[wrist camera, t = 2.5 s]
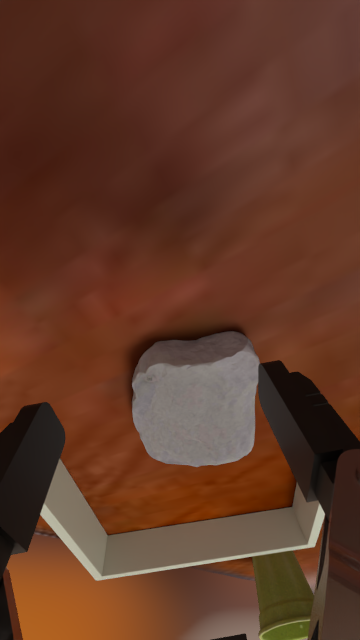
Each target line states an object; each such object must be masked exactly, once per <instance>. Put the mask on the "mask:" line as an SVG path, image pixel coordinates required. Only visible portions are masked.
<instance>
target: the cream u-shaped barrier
mask: <svg viewBox="0 0 360 640" xmlns="http://www.w3.org/2000/svg"><path fill="white" fill-rule="evenodd" d="M40 515H41V516H42V517H43V518H44V519H45V521H46V522H47V523H48V524H49V525H50V526H51V528H52V529H53V530H54V531H55V532H56V534H57V535H58V536H59V537H60V538H61V540H62V541H63V542H64V543H65V544H66V545H67V547H68V548H69V549H70V550H71V551H72V553H73V554H74V555H75V556H76V557H77V559H78V560H79V561H80V562H81V563H82V564H83V566H84V567H85V568H86V569H87V570H88V571H89V573H90V574H91V575H92V576H93V578H94V579H95V580H96V581H97V580H104V579H110V578H117V577H123V576H130V575H136V574H142V573H149V572H155V571H162V570H168V569H175V568H181V567H188V566H194V565H201V564H207V563H214V562H220V561H226V560H233V559H239V558H246V557H252V556H259V555H265V554H272V553H278V552H284V551H291V550H297V549H304V548H310V547H315V545H316V541H317V538H318V535H319V532H320V529H321V526H322V523H323V520H324V516H325V513H324V511H323V509H322V507H321V505H320V503H319V501H313V502H306V500H305V498H304V496H303V494H302V492H301V489H300V487H299V485H298V483H297V484H296V489H295V495H294V500H293V506H292V507H289V508H282V509H276V510H270V511H263V512H257V513H250V514H244V515H237V516H231V517H224V518H218V519H211V520H205V521H198V522H192V523H185V524H179V525H173V526H166V527H160V528H153V529H147V530H140V531H134V532H127V533H121V534H114V535H107V534H106V532H105V530H104V529H103V527H102V526H101V524H100V522H99V521H98V519H97V517H96V516H95V514H94V513H93V511H92V509H91V508H90V506H89V505H88V503H87V501H86V500H85V498H84V497H83V495H82V493H81V492H80V490H79V488H78V487H77V485H76V484H75V482H74V480H73V479H72V477H71V476H70V474H69V472H68V471H67V469H66V467H65V466H64V464H63V463H62V461H61V459H59V462H58V465H57V467H56V470H55V473H54V476H53V479H52V482H51V485H50V488H49V490H48V493H47V496H46V499H45V502H44V505H43V508H42V511H41V513H40Z"/></svg>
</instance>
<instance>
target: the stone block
mask: <svg viewBox="0 0 360 640" xmlns="http://www.w3.org/2000/svg"><path fill="white" fill-rule="evenodd" d="M259 364H260V362H259V358H258V356H257V355H256V353H255V351H254V348H253V345H252V343H251V341H250V340H249V339H248V338H247V337H246V336H244V335H243V334H242V333H238V332H234V331H229V332H222V333H219V334H218V333H216V334H213V335H211V336H206V337H202V338H199V339H198V340H193V341H181V340H169V341H159V342H156V343H155V344H154V345H153V346H152V347H150V348H149V349H148V350H147V351H146V352H145V353H144V354H143V355H142V356H141V358H140V359H139V362H138V365H137V366H136V368H135V372H134V375H133V379H132V388H133V390H134V395H133V398H132V413H133V422H134V424H135V427H136V429H137V430H138V432H139V433H140V439H141V440H142V442H143V444H144V446H145V448H146V450H147V453H148V454H149V455H150V456H151V457H152V458H154V459H157V460H158V461H161V462H164V463H166V464H180V465H190V466H195V467H198V466H201V465H219V464H224V463H229V462H233V461H237V460H239V459H240V458H242V457H243V456H244V455H248V453H249V452H251V450H252V447H253V445H254V432H255V394H256V385H257V384H258V366H259Z"/></svg>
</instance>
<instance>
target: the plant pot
mask: <svg viewBox="0 0 360 640" xmlns="http://www.w3.org/2000/svg"><path fill="white" fill-rule="evenodd" d="M252 560H253V567H254V574H255V581H256V587H257V595H258V602H259V610H260V615H259V621H260V631H259V639H260V640H300V639H305V638H308V632H309V625H310V618H311V611H312V605H313V600H314V595H313V593H312V590H311V588H310V586H309V584H308V582H307V580H306V578H305V576H304V574H303V571H302V569H301V567H300V565H299V563H298V561H297V559H296V557H295V554H294V552H293V550H291V551H284V552H278V553H272V554H265V555H259V556H252Z"/></svg>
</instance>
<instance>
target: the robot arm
mask: <svg viewBox="0 0 360 640" xmlns="http://www.w3.org/2000/svg"><path fill="white" fill-rule="evenodd" d="M258 390H259V399H260V403H261V407H262V409H263V411H264V414H265V416H266V418H267V420H268V422H269V424H270V426H271V428H272V430H273V432H274V435H275V437H276V439H277V441H278V443H279V445H280V447H281V449H282V451H283V454H284V456H285V458H286V460H287V462H288V464H289V466H290V468H291V470H292V473H293V475H294V477H295V479H296V481H297V483H298V485H299V487H300V489H301V492H302V494H303V496H304V498H305V500H306V502H313V501H319V503H320V505H321V507H322V509H323V511H324V513H325V516H324V523H323V531H322V539H321V547H320V555H319V563H318V570H317V578H316V586H315V593H314V600H313V605H312V611H311V618H310V625H309V632H308V640H360V442H359V440H358V439H357V438H356V436H355V435H354V434H353V433H352V431H351V430H350V429H349V428H348V426H347V425H346V424H345V423H344V421H343V420H342V419H341V417H340V416H339V415H338V414H337V412H336V411H335V410H334V409H333V407H332V406H331V405H330V404H328V401H327V400H326V399H325V397H324V396H323V395H322V394H321V393H320V391H319V390H318V388H317V387H316V386H315V385H314V383H313V382H312V381H311V380H310V379H308V378H307V377H305V376H304V375H302V374H301V373H299V372H292V373H289V372H288V370H287V369H286V367H285V366H284V364H283V363H282V362H281V361H280V360H277V361H272V362H266V363H261V364H259V366H258ZM64 444H65V431H64V428H63V426H62V425H61V423H60V421H59V419H58V418H57V416H56V414H55V412H54V411H53V409H52V407H51V406H50V404H49V403H47V402H44V403H38V404H33V405H27V406H24V407H23V408H22V409H21V410H20V412H19V414H18V415H17V417H16V419H15V420H14V422H13V423H10V424H9V425H8V426H7V427H6V428H5V429H4V430H3V431H2V432H1V433H0V640H23V638H22V633H21V629H20V623H19V619H18V613H17V608H16V603H15V598H14V593H13V589H12V583H11V578H10V573H9V570H8V569H7V568H6V566H7V563H8V560H9V558H10V556H11V555H13V554H18V553H23V552H27V551H28V548H29V545H30V542H31V539H32V536H33V534H34V531H35V528H36V525H37V522H38V519H39V516H40V513H41V511H42V508H43V505H44V502H45V499H46V496H47V493H48V490H49V488H50V485H51V482H52V479H53V476H54V473H55V470H56V467H57V465H58V462H59V459H60V456H61V453H62V450H63V447H64ZM212 640H247V638H246V634H240V635H235V636H229V637H223V638H219V639H212Z"/></svg>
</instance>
